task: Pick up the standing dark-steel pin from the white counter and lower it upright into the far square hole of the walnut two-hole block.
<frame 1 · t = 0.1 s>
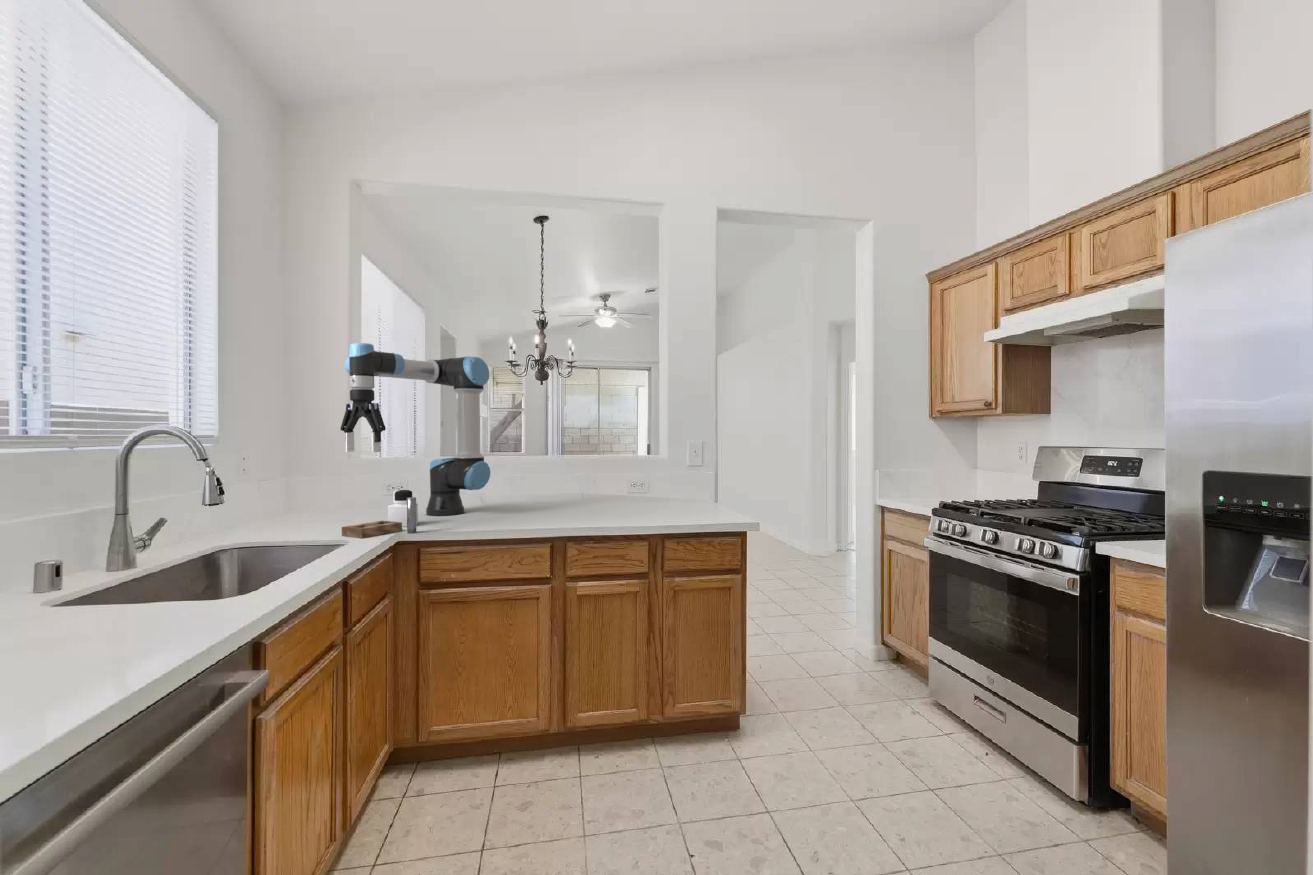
hand: (362, 452, 212), 28 cm above the counter, fingers open, 13 cm apart
hole block: (372, 533, 214), on the counter
container: (403, 525, 231), on the counter
pin: (411, 532, 215), on the counter
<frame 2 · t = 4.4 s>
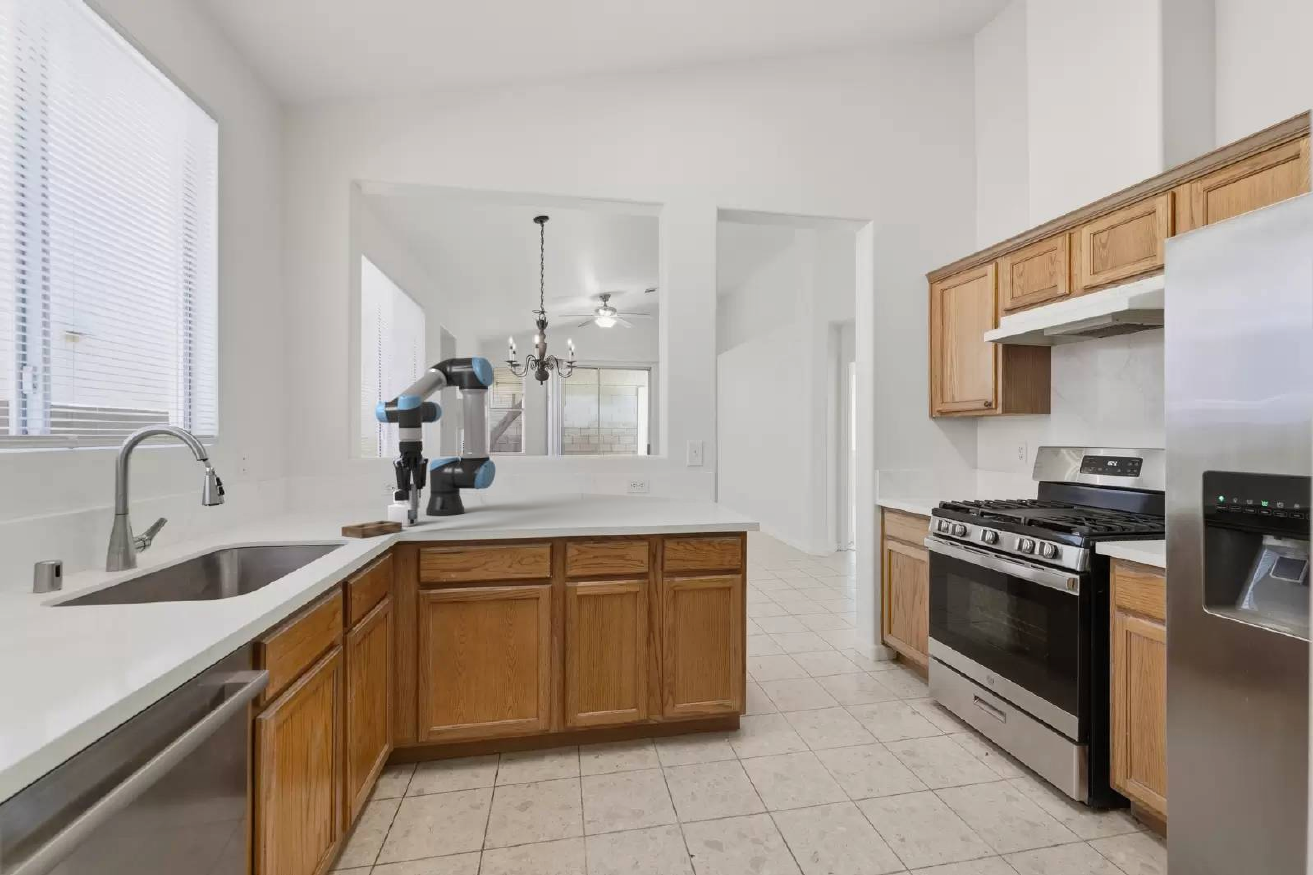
hand: (412, 508, 215), 8 cm above the counter, fingers closed on pin, 2 cm apart
pin: (412, 518, 215), point 5 cm above the counter, touching gripper
everything else where it was.
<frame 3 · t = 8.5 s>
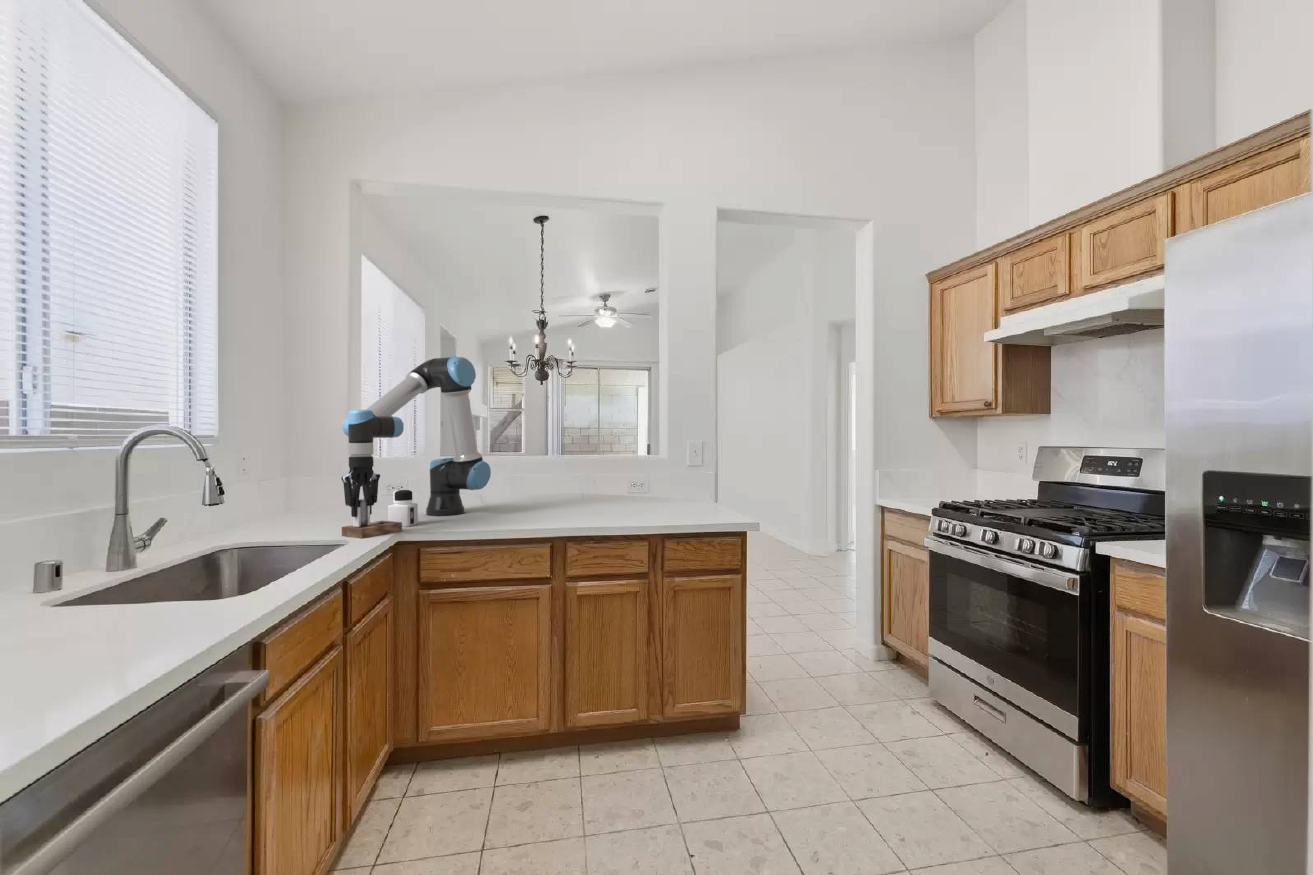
hand: (361, 525, 210), 3 cm above the counter, fingers closed on pin, 3 cm apart
pin: (361, 535, 210), resting in hole block, touching gripper
everything else where it was.
when the fingers open (3 cm above the counter, at t = 9.1 s): pin stays where it is, resting in hole block.
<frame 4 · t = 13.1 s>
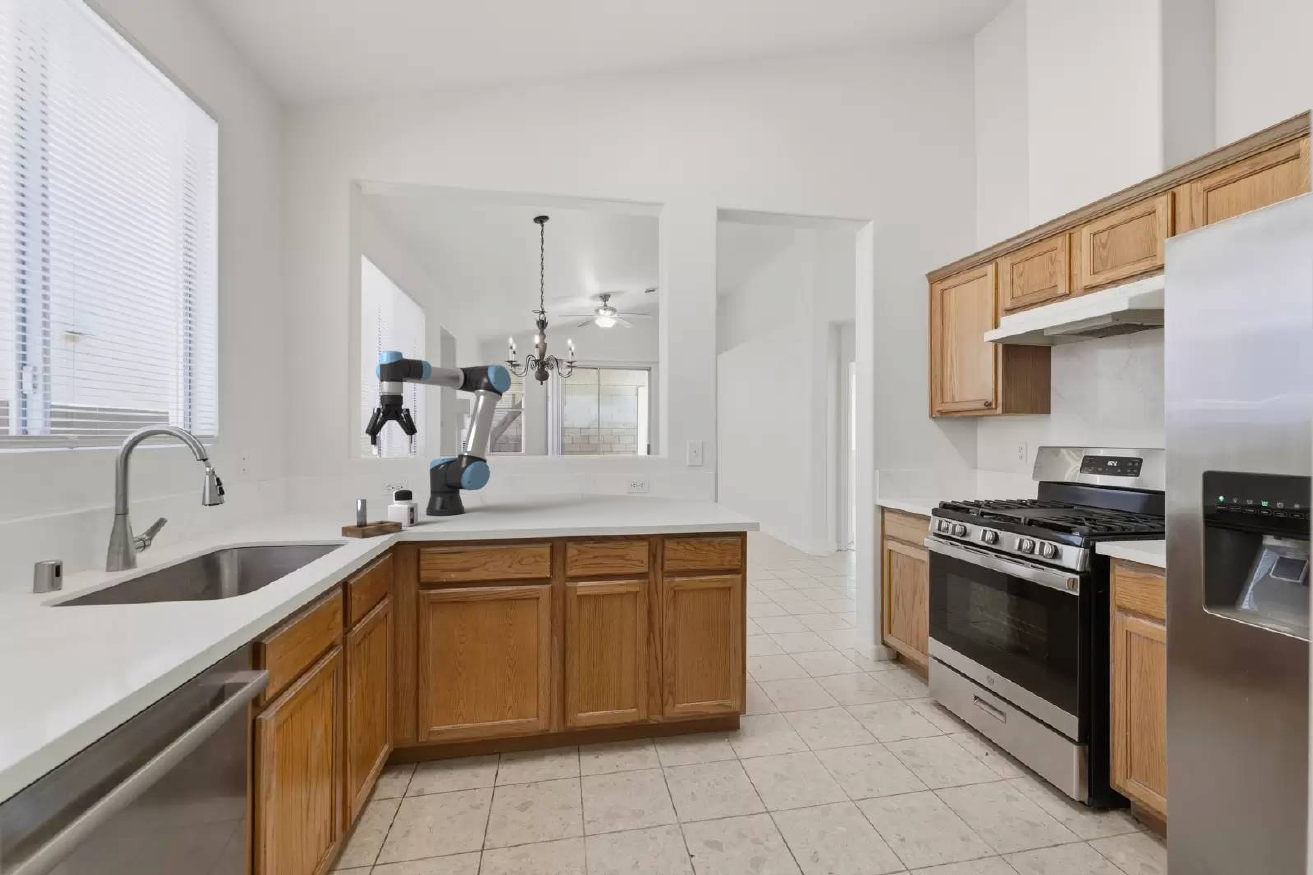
hand: (392, 453, 224), 27 cm above the counter, fingers open, 13 cm apart
pin: (361, 535, 210), resting in hole block
everything else where it was.
at the end: pin 0.2 cm from the target spot on the hole block, point 0.0 cm above the hole block's base; pin tilted 0°; the gripper is holding nothing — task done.
